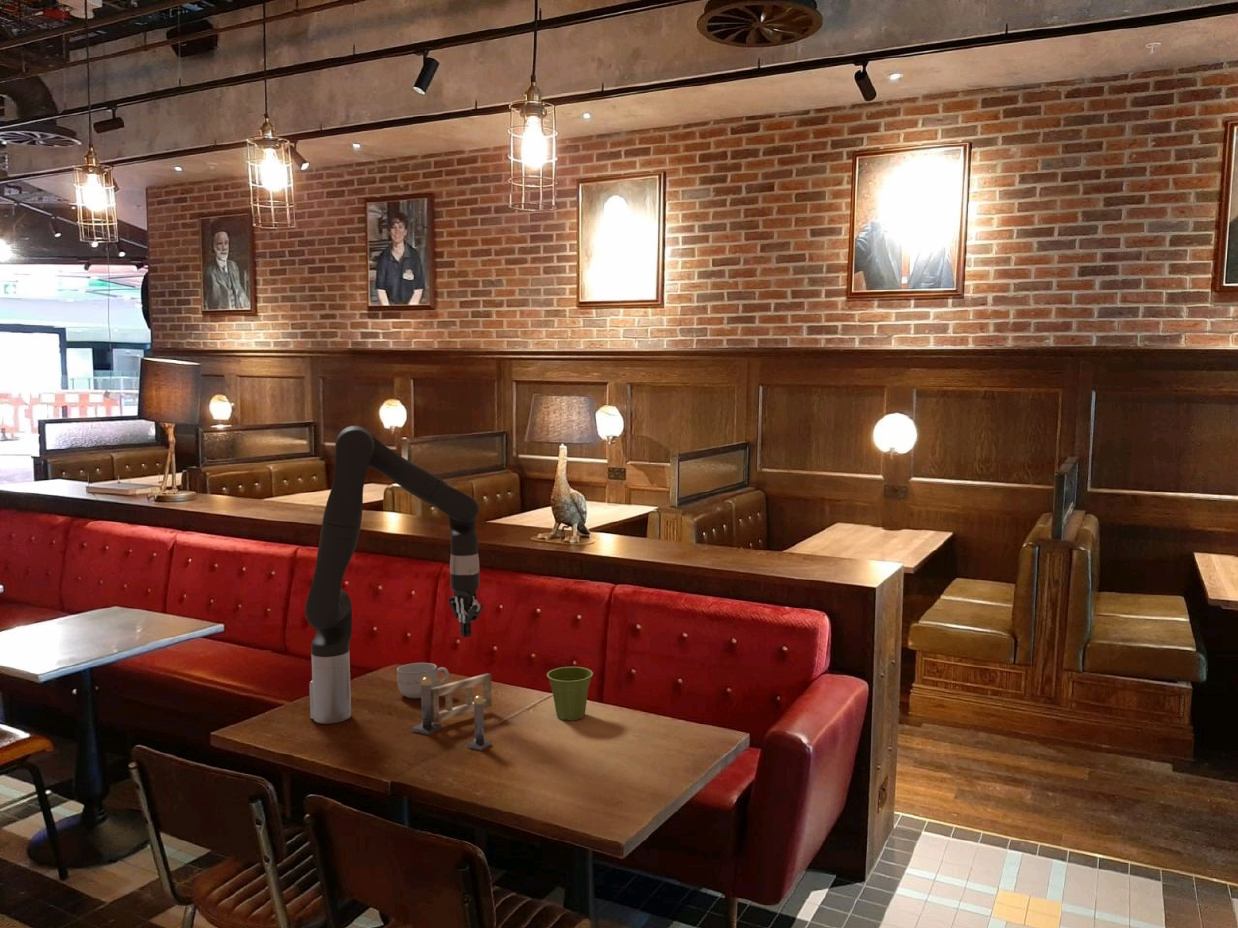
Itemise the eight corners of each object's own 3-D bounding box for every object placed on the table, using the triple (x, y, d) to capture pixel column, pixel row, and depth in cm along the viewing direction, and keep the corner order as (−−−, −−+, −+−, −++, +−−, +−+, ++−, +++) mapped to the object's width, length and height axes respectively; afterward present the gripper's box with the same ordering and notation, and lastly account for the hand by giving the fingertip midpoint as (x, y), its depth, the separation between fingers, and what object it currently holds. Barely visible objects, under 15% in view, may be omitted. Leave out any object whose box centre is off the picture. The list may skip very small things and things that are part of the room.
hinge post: (412, 731, 226) (411, 678, 225) (425, 724, 231) (424, 673, 230) (428, 735, 224) (427, 681, 223) (441, 728, 228) (440, 675, 227)
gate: (434, 723, 228) (433, 689, 227) (430, 721, 229) (430, 688, 228) (491, 706, 240) (491, 674, 239) (488, 704, 241) (487, 672, 240)
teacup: (391, 700, 249) (390, 671, 248) (406, 687, 259) (406, 659, 259) (440, 703, 246) (439, 674, 246) (454, 690, 257) (453, 662, 256)
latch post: (467, 747, 216) (466, 696, 215) (477, 741, 220) (476, 691, 219) (481, 750, 215) (480, 699, 214) (491, 744, 218) (490, 694, 217)
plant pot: (566, 704, 245) (566, 663, 244) (602, 714, 238) (602, 671, 237) (537, 717, 236) (537, 675, 235) (573, 728, 229) (573, 683, 228)
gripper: (438, 569, 242) (439, 633, 243) (467, 576, 232) (468, 643, 234) (462, 565, 247) (463, 628, 248) (491, 572, 237) (492, 638, 239)
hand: (466, 635), depth 241 cm, fingers closed
